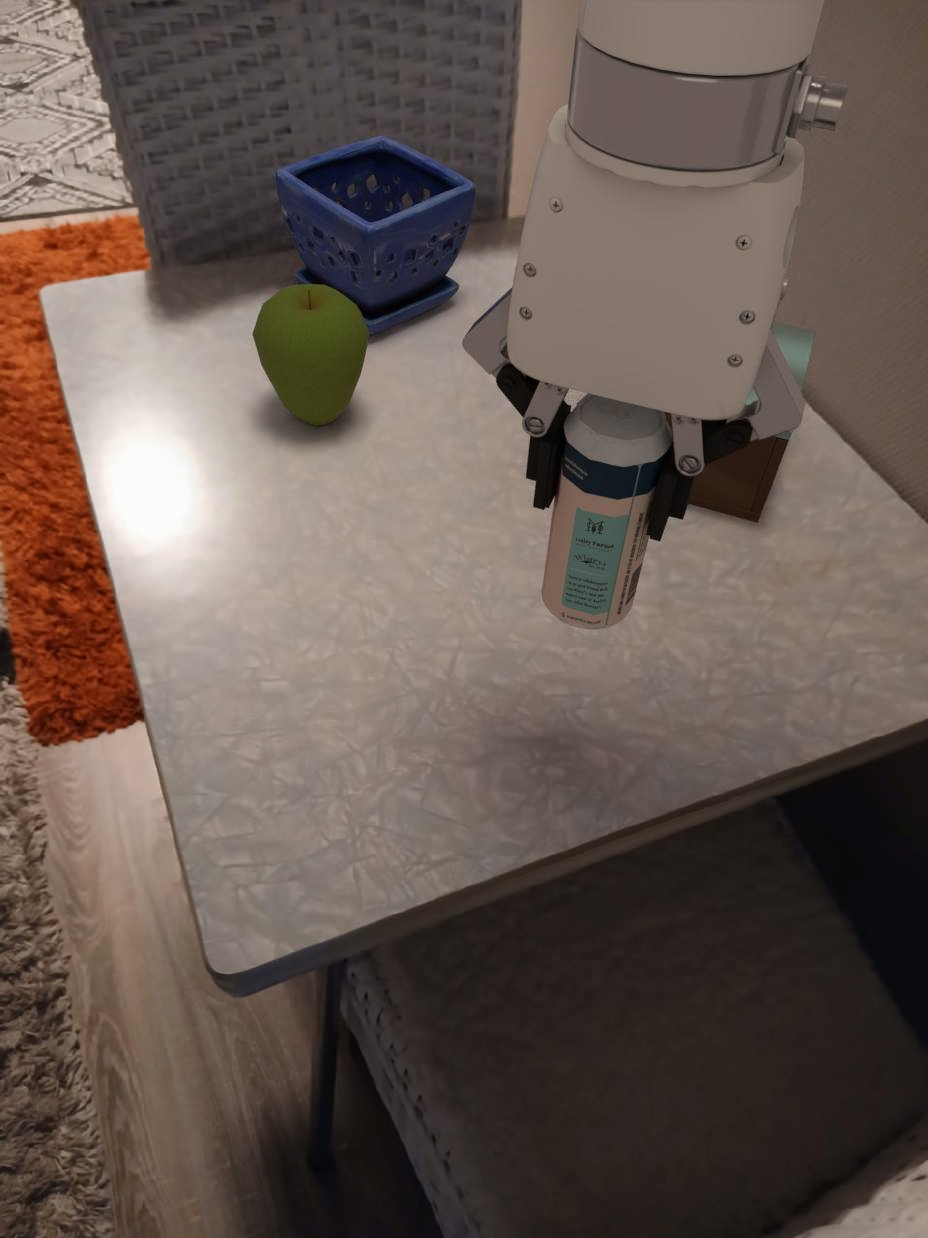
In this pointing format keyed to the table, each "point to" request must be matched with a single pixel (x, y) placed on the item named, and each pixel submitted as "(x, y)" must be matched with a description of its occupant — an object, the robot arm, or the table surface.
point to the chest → (739, 478)
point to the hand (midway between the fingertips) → (604, 503)
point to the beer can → (602, 509)
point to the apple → (312, 349)
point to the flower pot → (377, 227)
